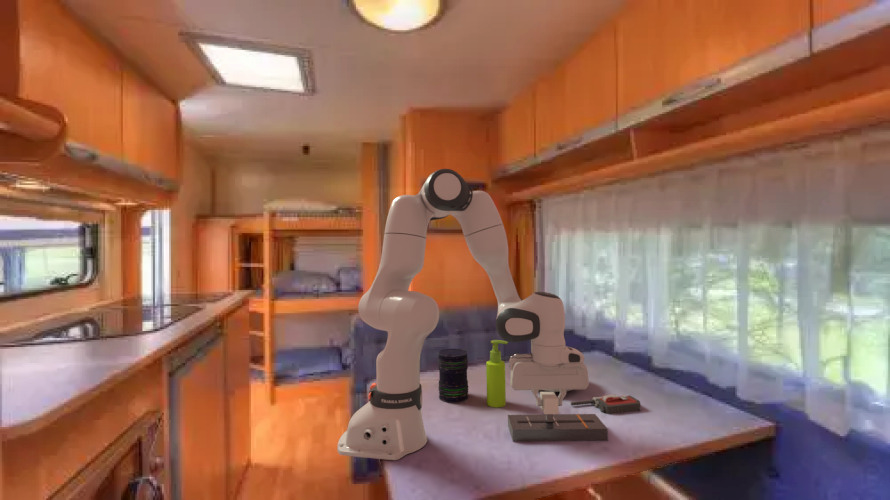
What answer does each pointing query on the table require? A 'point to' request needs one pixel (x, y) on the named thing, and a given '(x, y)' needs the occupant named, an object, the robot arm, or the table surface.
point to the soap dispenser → (496, 377)
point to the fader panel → (557, 428)
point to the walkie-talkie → (613, 403)
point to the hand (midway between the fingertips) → (549, 405)
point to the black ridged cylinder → (453, 375)
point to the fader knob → (549, 405)
